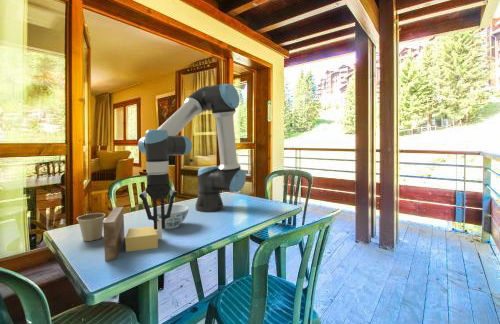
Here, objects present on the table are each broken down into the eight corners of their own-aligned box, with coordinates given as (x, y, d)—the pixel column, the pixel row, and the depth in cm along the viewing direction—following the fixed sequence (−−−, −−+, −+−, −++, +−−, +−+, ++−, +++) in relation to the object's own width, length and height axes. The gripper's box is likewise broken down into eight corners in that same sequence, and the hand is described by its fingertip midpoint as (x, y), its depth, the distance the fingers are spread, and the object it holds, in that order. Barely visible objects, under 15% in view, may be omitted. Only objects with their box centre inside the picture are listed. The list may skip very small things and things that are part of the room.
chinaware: (185, 231, 107) (185, 213, 106) (148, 232, 106) (147, 214, 105) (191, 220, 122) (190, 204, 121) (158, 221, 121) (157, 205, 120)
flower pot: (75, 244, 94) (73, 221, 93) (80, 236, 102) (79, 214, 101) (105, 240, 97) (104, 218, 97) (107, 232, 106) (106, 211, 105)
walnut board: (124, 237, 101) (123, 206, 100) (115, 259, 82) (114, 221, 81) (115, 238, 100) (114, 207, 99) (105, 260, 81) (103, 222, 80)
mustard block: (158, 238, 100) (157, 225, 100) (157, 248, 91) (157, 234, 90) (129, 241, 97) (128, 228, 97) (126, 252, 87) (125, 238, 87)
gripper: (176, 171, 99) (177, 232, 101) (138, 172, 95) (141, 236, 97) (177, 173, 92) (179, 238, 94) (137, 175, 88) (139, 243, 89)
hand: (159, 237), depth 95 cm, fingers closed
